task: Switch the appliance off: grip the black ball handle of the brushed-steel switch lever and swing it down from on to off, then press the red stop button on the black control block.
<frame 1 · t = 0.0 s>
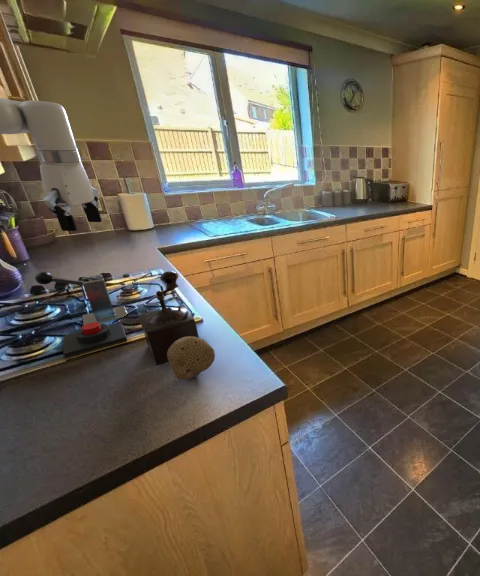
hand: (83, 226, 88), 27 cm above the worktop, tool pointing down, fingers open, 9 cm apart
stop button: (91, 328, 83), point 5 cm above the worktop, slide at 0.1 cm
switch bracket: (106, 318, 96), on the worktop
manual coffee grinder: (174, 344, 87), on the worktop
natural sponge: (196, 375, 76), on the worktop
switch lever: (70, 281, 88), point 13 cm above the worktop, hinge at 25.0°
control block: (97, 343, 85), on the worktop
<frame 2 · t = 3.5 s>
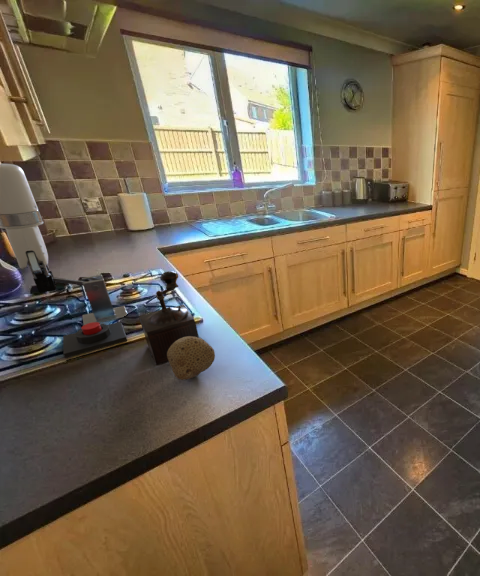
hand: (48, 288, 86), 12 cm above the worktop, tool pointing down, fingers closed on switch lever, 3 cm apart
switch lever: (70, 281, 88), point 13 cm above the worktop, hinge at 25.0°, touching gripper
everything else where it was.
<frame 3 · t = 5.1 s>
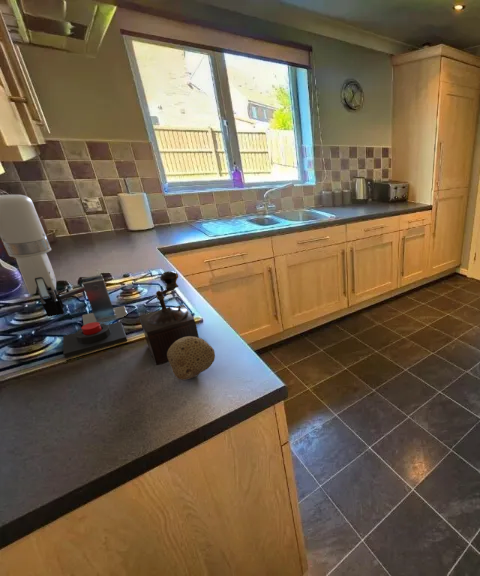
hand: (56, 311, 88), 6 cm above the worktop, tool pointing down, fingers closed on switch lever, 3 cm apart
switch lever: (72, 292, 89), point 10 cm above the worktop, hinge at -13.1°, touching gripper
everything else where it was.
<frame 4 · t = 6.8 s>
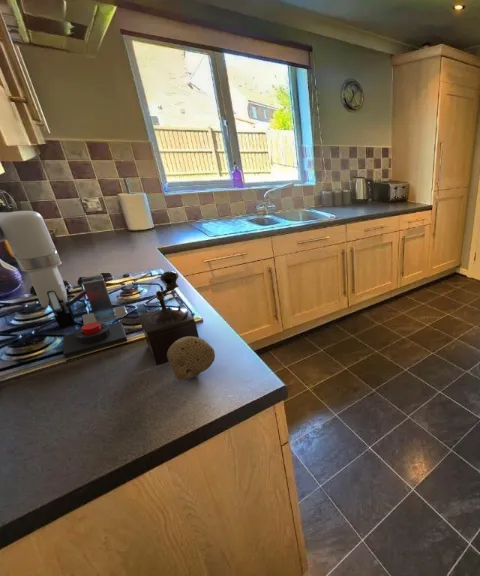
hand: (67, 322, 91), 2 cm above the worktop, tool pointing down, fingers open, 3 cm apart
switch lever: (77, 297, 90), point 8 cm above the worktop, hinge at -32.2°
everything else where it was.
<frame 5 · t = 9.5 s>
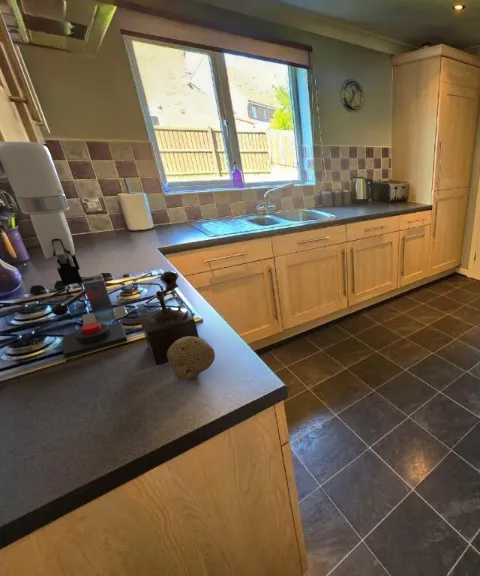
hand: (72, 276, 78), 19 cm above the worktop, tool pointing down, fingers open, 9 cm apart
switch lever: (77, 297, 90), point 8 cm above the worktop, hinge at -30.5°
everything else where it was.
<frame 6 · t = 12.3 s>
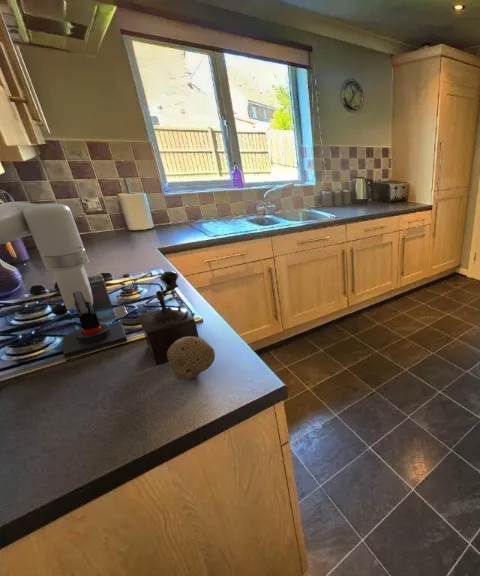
hand: (91, 326, 83), 5 cm above the worktop, tool pointing down, fingers closed
stop button: (92, 330, 84), point 4 cm above the worktop, slide at -0.3 cm, touching gripper
everything else where it was.
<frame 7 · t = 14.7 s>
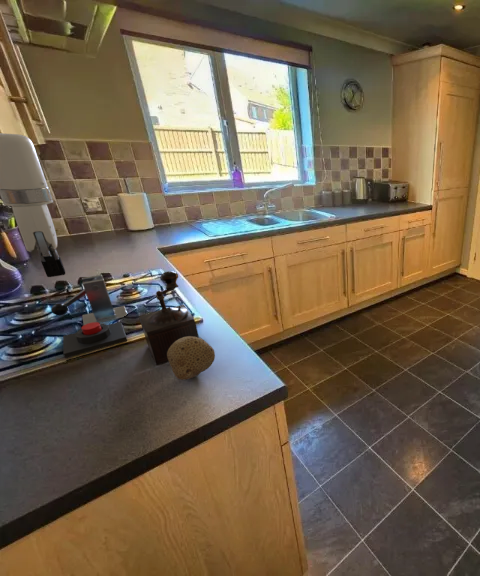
hand: (56, 274, 78), 19 cm above the worktop, tool pointing down, fingers closed
stop button: (91, 328, 83), point 5 cm above the worktop, slide at 0.1 cm
everything else where it was.
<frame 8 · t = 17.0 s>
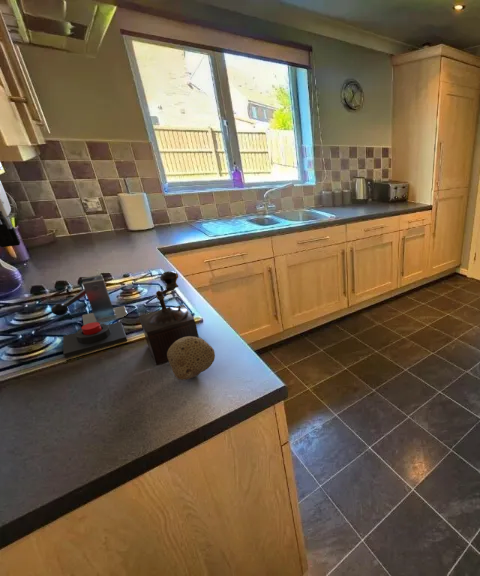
hand: (10, 245, 77), 25 cm above the worktop, tool pointing down, fingers closed
nothing on the worktop moved.
at the end: switch lever at -30° (first picture: +25°); stop button pushed in 1.1 cm at the most during the clip, back to where it started at the end; stop button slide at 0.1 cm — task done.
